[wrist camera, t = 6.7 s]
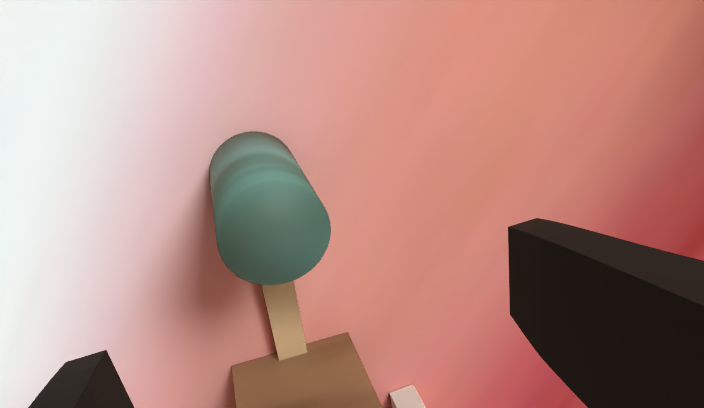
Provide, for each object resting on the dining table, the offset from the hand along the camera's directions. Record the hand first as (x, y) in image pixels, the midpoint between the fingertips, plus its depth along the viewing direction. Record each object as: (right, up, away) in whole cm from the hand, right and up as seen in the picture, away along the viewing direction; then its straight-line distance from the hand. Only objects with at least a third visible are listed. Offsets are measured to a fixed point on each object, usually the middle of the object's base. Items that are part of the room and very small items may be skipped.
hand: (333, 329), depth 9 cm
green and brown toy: (-2, -2, +11) cm, 12 cm away
